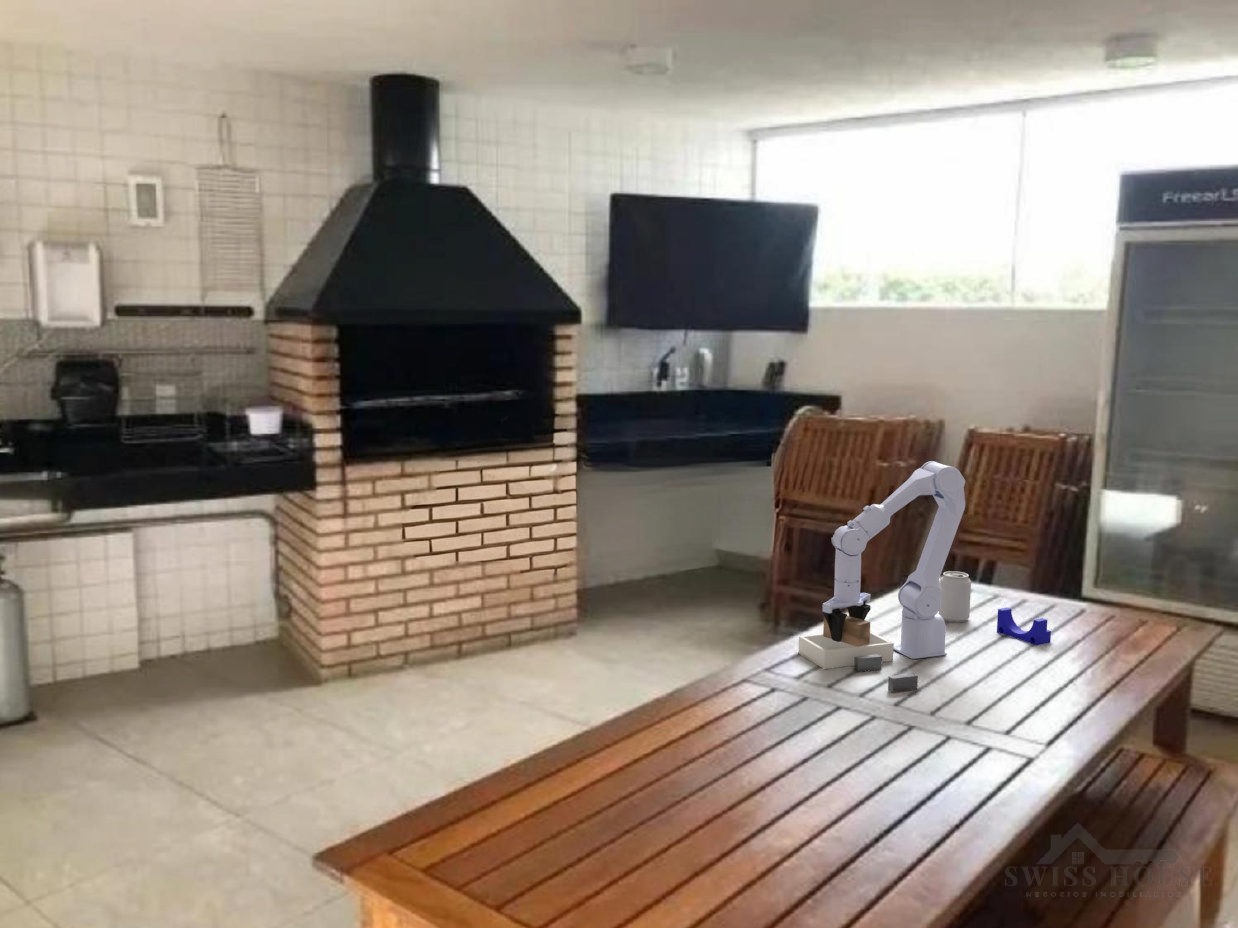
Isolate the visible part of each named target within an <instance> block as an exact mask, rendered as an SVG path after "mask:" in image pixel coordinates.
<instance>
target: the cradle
mask: <svg viewBox="0 0 1238 928" xmlns="http://www.w3.org/2000/svg"><path fill="white" fill-rule="evenodd" d="M882 665H883V662H882V656H881V655H879V654H874V655H866V656H858V657H854V665H853V671H855V672H856V673H863V672H872V671H879V670H883V669H882V668H883V666H882ZM887 678H888V682H887V691H888V692H890V693H892V694H894V693H901V692H902V693H903V692H908V691H915V690H917V691H918V686H919V685H918V683H919V681H918V680H919V679H918V678H919V675H918V674H916V673H913V672H911V673H905V674H904V673H903V674H897V675H889V676H888V677H887Z"/></svg>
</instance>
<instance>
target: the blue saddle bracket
mask: <svg viewBox="0 0 1238 928" xmlns="http://www.w3.org/2000/svg"><path fill="white" fill-rule="evenodd" d="M996 623H997V624H996V632H997V633H998V634H1002V635H1004V636H1007V637H1011V638H1013V639H1017V640H1019V641H1023V642H1027V643H1029V644H1032V645H1035V646H1041V645H1045V644H1046V645H1047V644H1050V643H1051V639H1052V638H1051V636H1052V630H1050V629H1048V619H1046V618H1043V617H1041V618H1036V619H1033V621H1032V626H1031V627H1030V629H1029V630H1023V629H1021V628H1020V627H1019V626H1018V624H1017V623H1016V622H1015V620H1014V617H1013V614H1012V608H1009V607H1007V606H1006V607H1002V608H998V609H997V621H996Z"/></svg>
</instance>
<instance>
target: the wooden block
mask: <svg viewBox="0 0 1238 928" xmlns="http://www.w3.org/2000/svg"><path fill="white" fill-rule="evenodd" d="M822 630H823V632H822V634H823V636H824V637H827V638H830V639H832V638H831V633H830V629H829V626H828V623H827V620H826V618H825V617H824V616H823V629H822ZM870 631H871V621H869V620H866V619H865V620H862V619H858V618H855V617H851V616H849V615H847V616H846V619H845V621H844V625H843V631H842V639H841V642H844V643H847V644H850V645H854V646H857V647H860V646H863V645H866V644H869V643H870Z"/></svg>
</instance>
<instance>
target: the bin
mask: <svg viewBox="0 0 1238 928" xmlns="http://www.w3.org/2000/svg"><path fill="white" fill-rule="evenodd" d="M893 647H895V646H894V642H892V641H890V640H888V639H886V638H885V637H883V636H881V635H879V634H877V633H875V632H872V631H871V630H870V643H869V644H866V645H863V646H860V647H857V646H854V645H850V644H847V643H844V642H837V641H833V640H832V639H830V638H827V637H824V636H823V633H815V634H807V635H799V636H798V654H799V655H801V656H802V657H804V658H805V659H807V660H809V661H811V662H812V663H814V664H815V665H817V666H819V667H820V668H822V669H823V668H824V669H823V670H825V669H827V668H828V669H833V668H832V667H836V668H840V667H841V668H842V667H843V666H844V667H850V666H851V667H852V666H854V657H858V656H866V655H874V654H879V655H881V656H882V663H883V662H891V661H894V649H893ZM828 669H827V670H828Z"/></svg>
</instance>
